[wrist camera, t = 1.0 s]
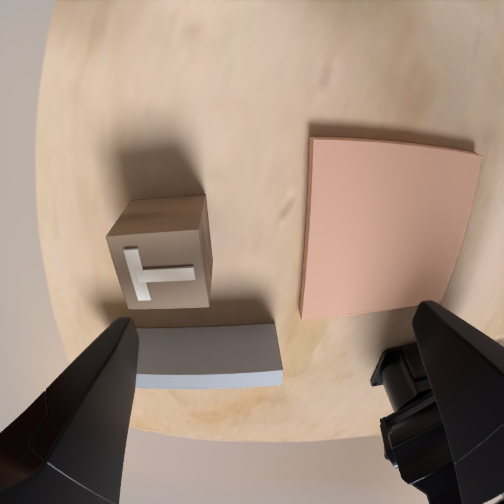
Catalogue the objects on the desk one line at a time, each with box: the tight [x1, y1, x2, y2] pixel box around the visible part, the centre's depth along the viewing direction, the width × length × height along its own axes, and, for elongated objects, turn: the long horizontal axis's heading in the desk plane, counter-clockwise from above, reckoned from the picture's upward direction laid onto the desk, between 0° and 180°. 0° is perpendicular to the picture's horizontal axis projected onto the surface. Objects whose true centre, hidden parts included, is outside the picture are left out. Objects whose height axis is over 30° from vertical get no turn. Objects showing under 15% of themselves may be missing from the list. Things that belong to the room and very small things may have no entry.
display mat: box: [299, 137, 482, 321], centre depth 21 cm, size 14×14×1 cm
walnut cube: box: [106, 194, 213, 309], centre depth 18 cm, size 5×5×5 cm
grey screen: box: [135, 323, 283, 389], centre depth 23 cm, size 2×14×5 cm, turn 92°
